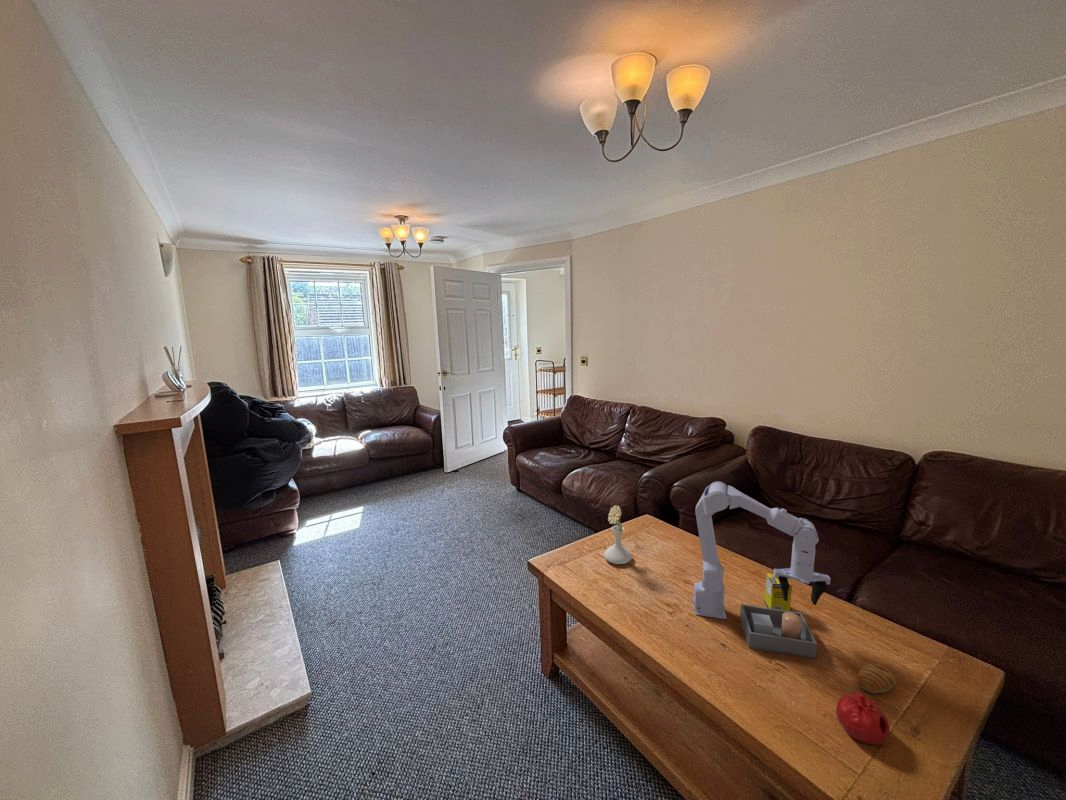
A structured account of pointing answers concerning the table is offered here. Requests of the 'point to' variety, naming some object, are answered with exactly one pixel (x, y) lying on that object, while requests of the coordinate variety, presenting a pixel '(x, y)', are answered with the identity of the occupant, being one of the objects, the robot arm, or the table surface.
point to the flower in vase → (617, 540)
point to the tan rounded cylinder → (791, 626)
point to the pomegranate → (862, 719)
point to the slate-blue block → (761, 624)
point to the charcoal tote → (777, 634)
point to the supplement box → (776, 594)
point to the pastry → (875, 679)
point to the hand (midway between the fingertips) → (799, 600)
